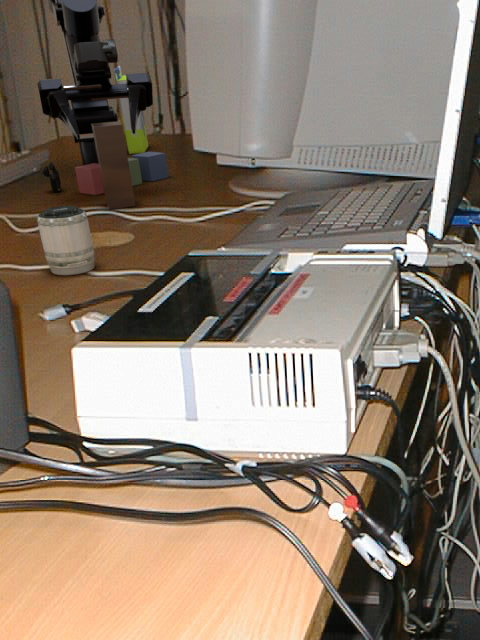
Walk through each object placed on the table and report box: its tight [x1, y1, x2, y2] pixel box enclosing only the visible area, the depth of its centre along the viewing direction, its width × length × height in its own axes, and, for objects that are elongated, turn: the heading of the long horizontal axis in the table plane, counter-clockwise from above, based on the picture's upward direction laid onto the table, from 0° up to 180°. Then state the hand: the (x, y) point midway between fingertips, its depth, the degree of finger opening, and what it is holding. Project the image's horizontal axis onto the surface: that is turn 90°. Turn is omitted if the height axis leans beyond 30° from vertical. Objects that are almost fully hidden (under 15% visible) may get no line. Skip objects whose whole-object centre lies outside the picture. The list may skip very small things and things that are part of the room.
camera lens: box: [36, 205, 96, 276], centre depth 119 cm, size 6×6×8 cm
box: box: [113, 65, 149, 155], centre depth 203 cm, size 10×4×17 cm, turn 8°
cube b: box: [128, 157, 143, 187], centre depth 171 cm, size 4×4×4 cm
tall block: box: [92, 120, 137, 210], centre depth 152 cm, size 5×4×13 cm
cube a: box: [131, 151, 170, 182], centre depth 175 cm, size 4×4×4 cm
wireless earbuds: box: [42, 161, 62, 193], centre depth 167 cm, size 7×2×5 cm, turn 15°
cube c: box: [74, 163, 104, 196], centre depth 166 cm, size 4×4×4 cm
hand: (106, 134), depth 153 cm, fingers open, 9 cm apart
